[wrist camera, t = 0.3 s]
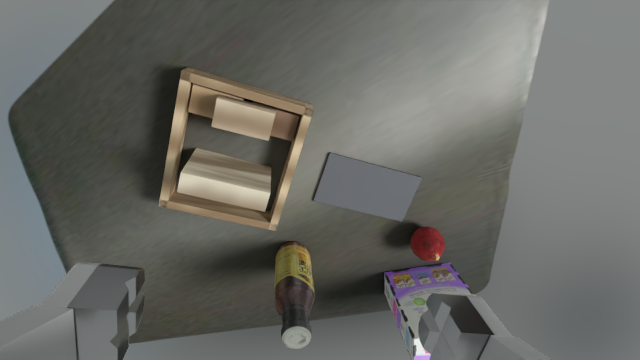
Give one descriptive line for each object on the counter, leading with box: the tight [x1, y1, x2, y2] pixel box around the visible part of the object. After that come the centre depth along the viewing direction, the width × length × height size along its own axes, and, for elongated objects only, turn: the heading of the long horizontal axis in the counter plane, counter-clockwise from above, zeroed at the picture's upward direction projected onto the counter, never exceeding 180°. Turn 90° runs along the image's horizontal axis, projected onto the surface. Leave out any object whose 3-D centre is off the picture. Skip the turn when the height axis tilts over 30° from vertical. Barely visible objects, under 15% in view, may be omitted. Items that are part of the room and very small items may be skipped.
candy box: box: [384, 263, 475, 360], centre depth 64 cm, size 14×6×16 cm, turn 95°
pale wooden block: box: [177, 148, 271, 212], centre depth 53 cm, size 3×12×10 cm, turn 72°
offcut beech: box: [211, 94, 276, 141], centre depth 50 cm, size 4×8×3 cm, turn 73°
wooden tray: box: [159, 67, 314, 231], centre depth 54 cm, size 21×18×4 cm
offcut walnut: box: [253, 101, 299, 141], centre depth 54 cm, size 4×7×3 cm, turn 73°
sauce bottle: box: [275, 242, 315, 349], centre depth 56 cm, size 6×6×20 cm
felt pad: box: [314, 152, 422, 222], centre depth 61 cm, size 9×17×1 cm, turn 72°
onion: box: [411, 227, 445, 261], centre depth 63 cm, size 6×6×8 cm
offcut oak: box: [188, 83, 244, 119], centre depth 52 cm, size 4×7×3 cm, turn 72°
